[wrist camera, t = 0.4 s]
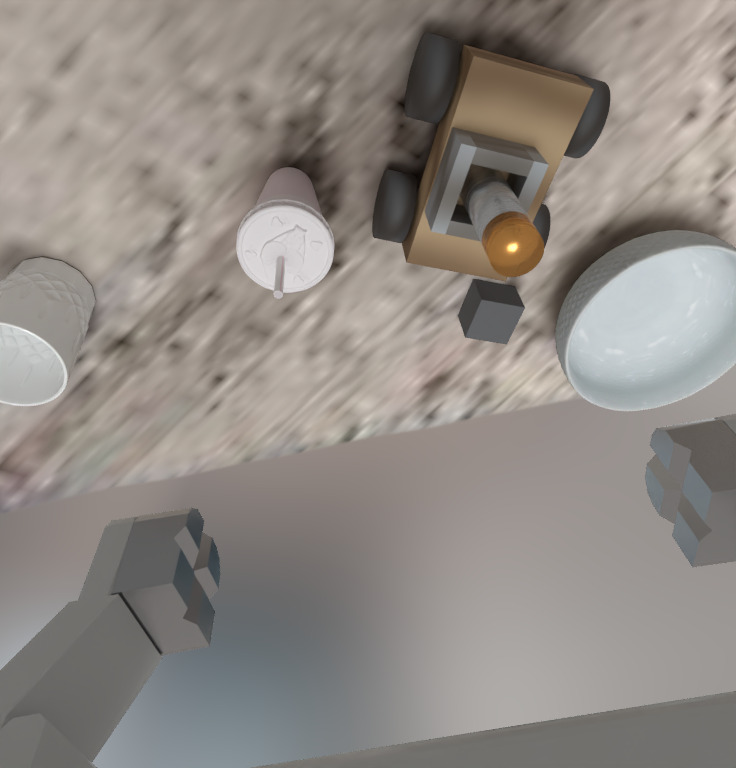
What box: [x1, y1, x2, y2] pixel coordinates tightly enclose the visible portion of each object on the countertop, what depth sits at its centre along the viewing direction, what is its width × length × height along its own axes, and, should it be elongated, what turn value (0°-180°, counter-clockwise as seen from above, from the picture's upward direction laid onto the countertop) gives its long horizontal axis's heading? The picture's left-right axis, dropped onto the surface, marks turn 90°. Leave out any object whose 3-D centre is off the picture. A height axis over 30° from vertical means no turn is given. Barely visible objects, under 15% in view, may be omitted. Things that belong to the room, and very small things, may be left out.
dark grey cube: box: [458, 279, 525, 344], centre depth 52 cm, size 4×4×4 cm
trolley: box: [372, 33, 610, 281], centre depth 41 cm, size 14×13×9 cm
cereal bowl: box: [555, 230, 736, 411], centre depth 51 cm, size 17×17×7 cm
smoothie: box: [236, 167, 334, 298], centre depth 40 cm, size 6×6×14 cm
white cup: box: [0, 257, 96, 406], centre depth 46 cm, size 8×8×10 cm
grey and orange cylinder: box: [460, 164, 544, 277], centre depth 36 cm, size 3×3×10 cm
